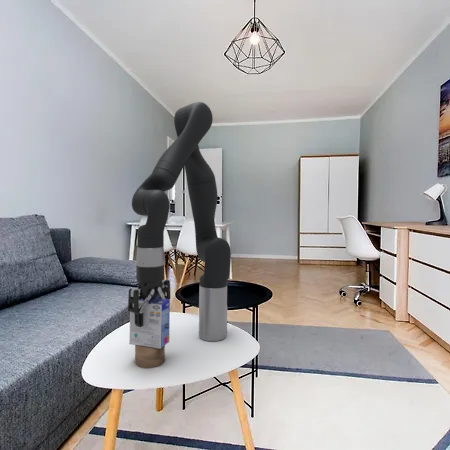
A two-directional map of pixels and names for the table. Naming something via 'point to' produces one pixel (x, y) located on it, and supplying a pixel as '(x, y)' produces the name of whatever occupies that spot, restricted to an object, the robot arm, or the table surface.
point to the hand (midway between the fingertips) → (150, 321)
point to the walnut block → (149, 356)
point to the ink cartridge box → (152, 325)
